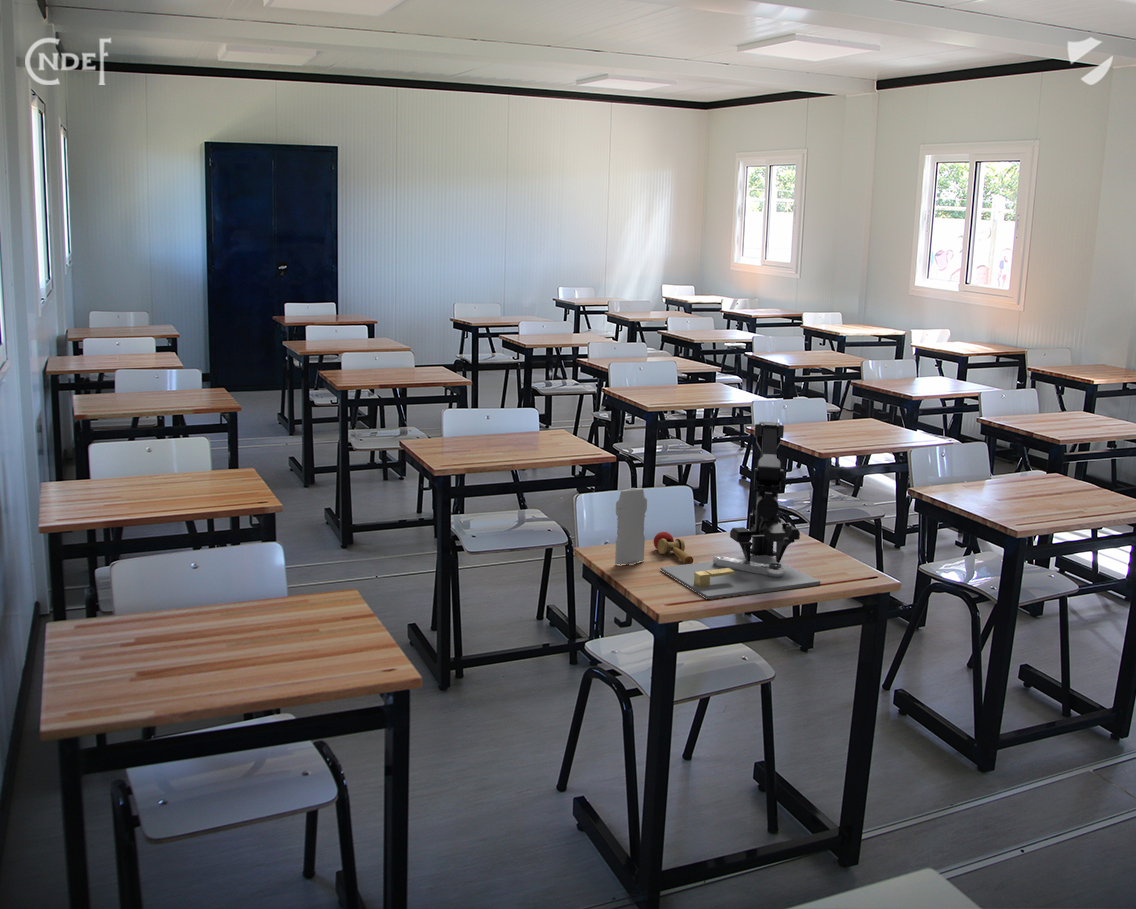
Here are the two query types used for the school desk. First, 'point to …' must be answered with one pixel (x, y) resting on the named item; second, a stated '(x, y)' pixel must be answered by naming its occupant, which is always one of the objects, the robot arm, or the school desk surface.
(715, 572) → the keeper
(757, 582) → the base plate
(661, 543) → the kendama
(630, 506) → the tall pale column
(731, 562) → the link
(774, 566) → the glossy black ball
